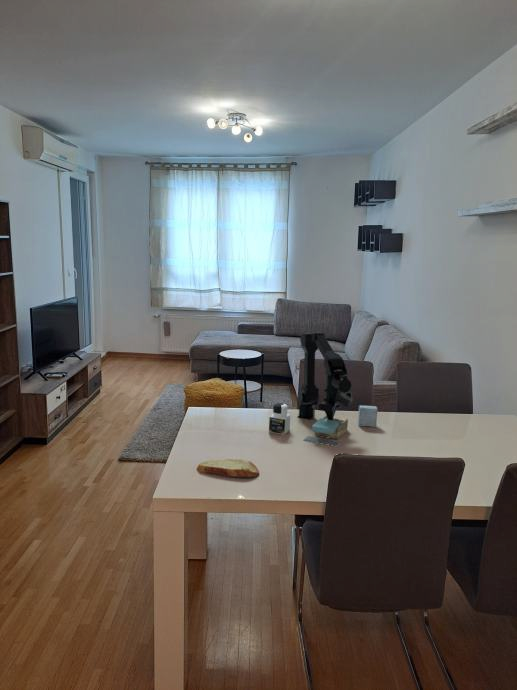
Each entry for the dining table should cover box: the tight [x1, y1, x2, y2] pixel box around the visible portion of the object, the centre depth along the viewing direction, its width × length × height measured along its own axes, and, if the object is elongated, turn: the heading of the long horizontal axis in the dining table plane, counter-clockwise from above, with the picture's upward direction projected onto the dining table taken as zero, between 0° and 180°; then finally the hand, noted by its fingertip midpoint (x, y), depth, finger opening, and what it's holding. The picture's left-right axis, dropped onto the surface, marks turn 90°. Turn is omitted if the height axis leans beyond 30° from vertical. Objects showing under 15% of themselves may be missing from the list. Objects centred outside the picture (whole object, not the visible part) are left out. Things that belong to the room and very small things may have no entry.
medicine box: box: [357, 405, 378, 428], centre depth 236 cm, size 8×4×9 cm, turn 84°
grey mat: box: [303, 435, 341, 447], centre depth 214 cm, size 14×5×1 cm, turn 65°
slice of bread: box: [196, 458, 260, 479], centre depth 181 cm, size 18×18×4 cm
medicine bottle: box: [268, 402, 291, 435], centre depth 224 cm, size 7×7×12 cm
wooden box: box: [314, 414, 349, 440], centre depth 225 cm, size 10×14×5 cm
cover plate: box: [311, 417, 339, 434], centre depth 217 cm, size 8×11×2 cm
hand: (330, 422), depth 223 cm, fingers closed
